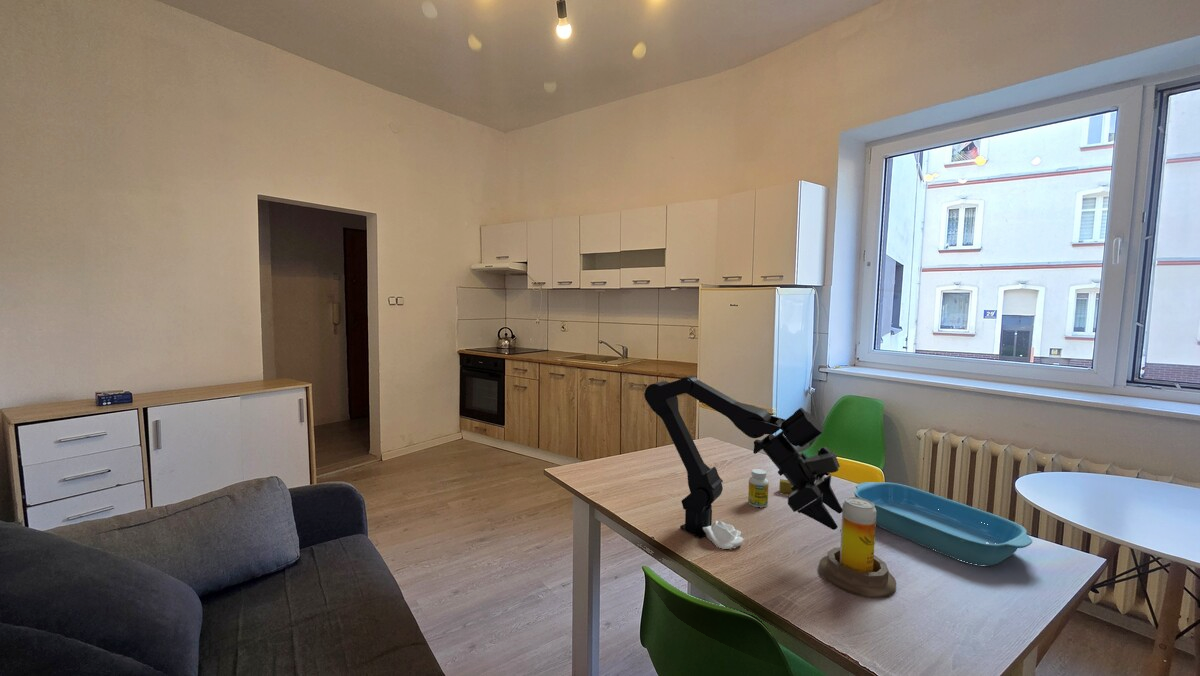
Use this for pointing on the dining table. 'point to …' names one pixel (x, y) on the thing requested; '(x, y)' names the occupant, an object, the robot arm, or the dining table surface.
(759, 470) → the supplement bottle
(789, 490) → the medication box
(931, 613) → the dining table surface
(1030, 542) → the casserole dish
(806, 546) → the dining table surface
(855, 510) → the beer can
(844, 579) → the can holder
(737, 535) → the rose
